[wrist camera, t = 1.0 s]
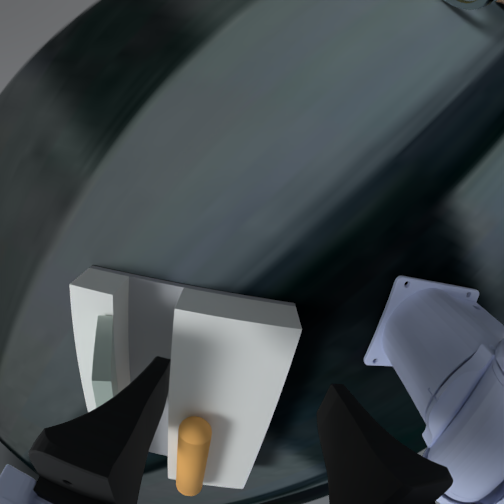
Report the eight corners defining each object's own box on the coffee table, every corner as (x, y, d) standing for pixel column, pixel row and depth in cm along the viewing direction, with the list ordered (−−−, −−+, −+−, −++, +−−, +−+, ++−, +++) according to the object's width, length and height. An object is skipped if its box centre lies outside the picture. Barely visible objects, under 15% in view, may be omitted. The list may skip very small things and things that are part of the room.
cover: (111, 381, 13) (91, 380, 12) (127, 476, 16) (114, 476, 15) (113, 315, 18) (97, 315, 18) (121, 416, 21) (109, 415, 21)
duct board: (294, 303, 22) (302, 329, 18) (243, 463, 28) (243, 488, 25) (92, 265, 21) (69, 284, 17) (110, 437, 27) (101, 460, 24)
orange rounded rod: (215, 412, 21) (212, 437, 18) (202, 482, 24) (200, 501, 22) (181, 407, 20) (176, 431, 18) (177, 477, 24) (174, 497, 22)
